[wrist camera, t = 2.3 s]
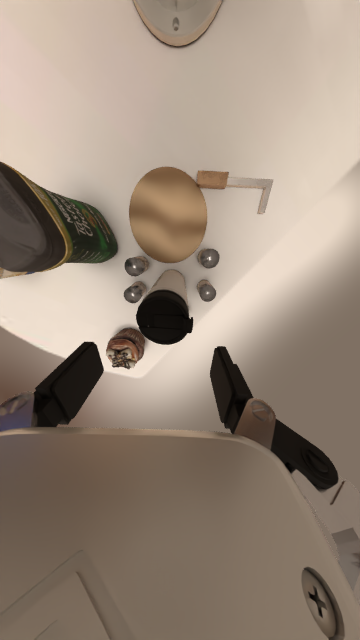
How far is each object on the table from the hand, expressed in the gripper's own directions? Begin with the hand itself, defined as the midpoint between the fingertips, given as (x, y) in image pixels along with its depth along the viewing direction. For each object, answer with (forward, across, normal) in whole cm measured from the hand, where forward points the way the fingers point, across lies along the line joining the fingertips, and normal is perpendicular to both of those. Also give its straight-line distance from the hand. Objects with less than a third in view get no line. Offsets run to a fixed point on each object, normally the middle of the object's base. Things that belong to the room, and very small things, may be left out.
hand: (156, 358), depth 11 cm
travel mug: (+25, 0, -1) cm, 25 cm away
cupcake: (+25, +12, +16) cm, 32 cm away
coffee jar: (+24, +16, -10) cm, 31 cm away
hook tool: (+24, -11, -17) cm, 31 cm away
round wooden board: (+24, +1, -13) cm, 27 cm away
